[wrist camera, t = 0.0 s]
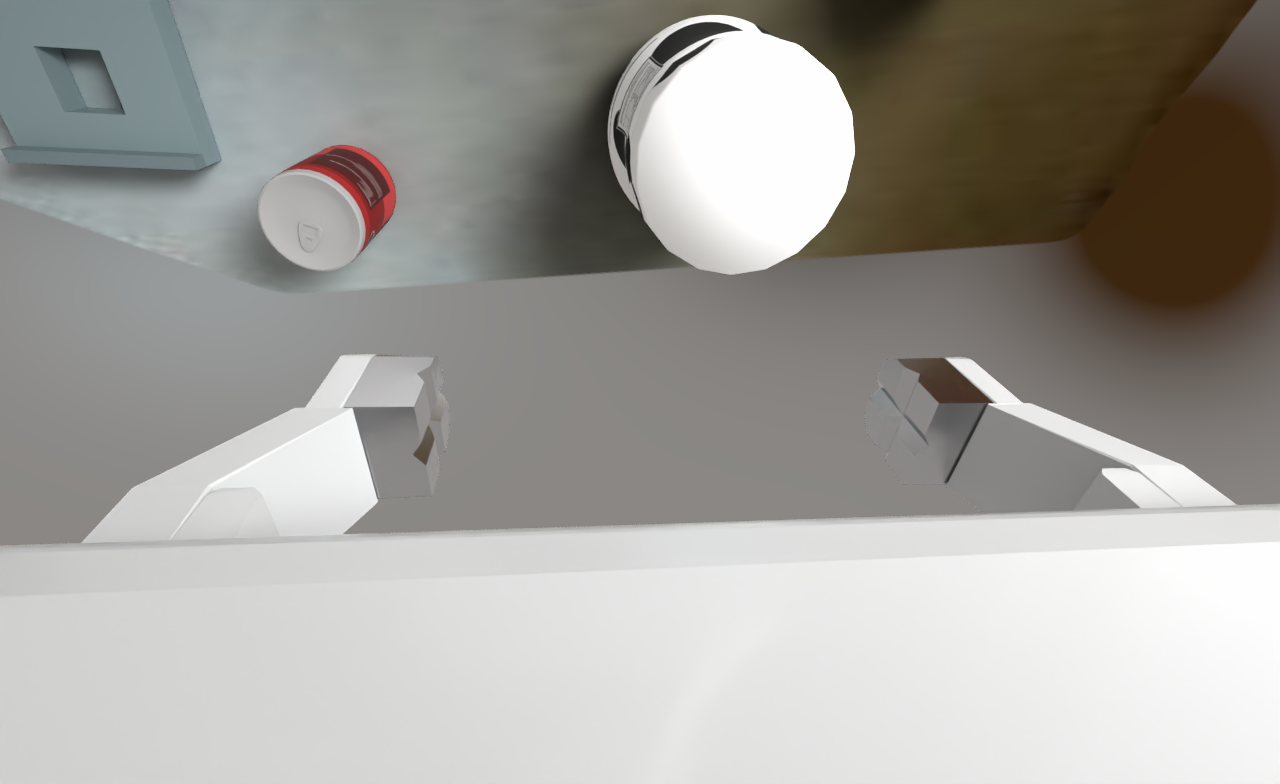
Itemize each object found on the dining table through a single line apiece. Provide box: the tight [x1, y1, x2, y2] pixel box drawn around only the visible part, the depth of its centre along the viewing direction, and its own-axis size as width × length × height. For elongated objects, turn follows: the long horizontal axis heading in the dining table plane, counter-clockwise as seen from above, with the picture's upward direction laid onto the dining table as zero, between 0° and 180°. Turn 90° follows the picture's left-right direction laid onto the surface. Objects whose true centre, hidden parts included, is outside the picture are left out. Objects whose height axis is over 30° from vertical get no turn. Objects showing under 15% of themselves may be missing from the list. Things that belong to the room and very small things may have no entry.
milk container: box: [608, 15, 855, 275], centre depth 45 cm, size 17×17×18 cm
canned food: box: [257, 145, 396, 271], centre depth 48 cm, size 8×8×11 cm
